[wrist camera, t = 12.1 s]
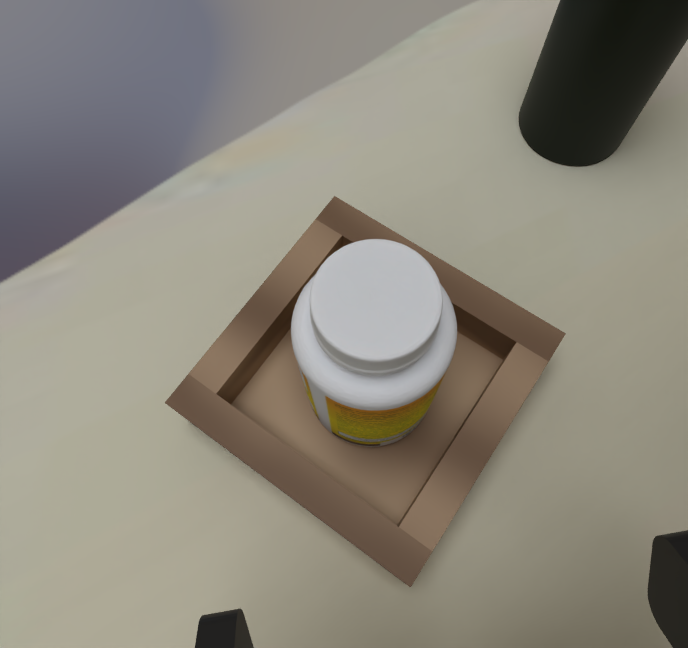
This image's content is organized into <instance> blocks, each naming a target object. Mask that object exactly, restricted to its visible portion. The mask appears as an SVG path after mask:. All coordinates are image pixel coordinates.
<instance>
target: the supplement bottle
mask: <svg viewBox="0 0 688 648" xmlns="http://www.w3.org/2000/svg"><path fill="white" fill-rule="evenodd" d="M291 339H292V346H293V350H294V354H295V358H296V361H297V364H298V367H299V370H300V373H301V376H302V380H303V383H304V386H305V389H306V392H307V395H308V398H309V401H310V404H311V406H312V408H313V411H314V413H315V414H316V416H317V418H318V419H319V421H320V422H321V423H322V425H323V426H324V427H325V428H326V429H327V430H328V431H329V432H331V433H332V434H333V435H335V436H336V437H338V438H340V439H341V440H343V441H346V442H348V443H351V444H354V445H359V446H366V447H377V446H383V445H387V444H391V443H394V442H396V441H398V440H400V439H402V438H404V437H405V436H407V435H408V434H409V433H411V432H412V431H413V430H414V429H415V428H416V427H417V426H418V425H419V423H420V422H421V421H422V419H423V418H424V416H425V415H426V413H427V411H428V409H429V407H430V405H431V403H432V401H433V398H434V396H435V394H436V392H437V390H438V388H439V386H440V384H441V382H442V380H443V378H444V375H445V373H446V371H447V369H448V367H449V365H450V362H451V360H452V357H453V354H454V350H455V346H456V340H457V321H456V316H455V312H454V308H453V305H452V303H451V300H450V298H449V296H448V294H447V293H446V291H445V289H444V288H443V287H442V285H441V284H440V282H439V279H438V277H437V275H436V273H435V271H434V270H433V268H432V267H431V265H430V264H429V263H428V262H427V261H426V260H425V259H424V258H423V257H422V256H421V255H420V254H419V253H417V252H416V251H415V250H413V249H411V248H410V247H408V246H406V245H403V244H401V243H398V242H395V241H390V240H385V239H367V240H361V241H357V242H354V243H351V244H348V245H346V246H344V247H342V248H340V249H339V250H337V251H336V252H334V253H333V254H332V255H331V256H329V257H328V258H327V259H326V260H325V261H324V263H323V264H322V265H321V267H320V268H319V269H318V271H317V273H316V274H315V275H314V276H313V277H312V278H311V280H310V281H309V282H308V283H307V284H306V286H305V287H304V288H303V290H302V292H301V293H300V295H299V298H298V300H297V302H296V305H295V308H294V311H293V316H292V322H291Z"/></svg>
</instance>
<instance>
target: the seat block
mask: <svg viewBox="0 0 688 648" xmlns="http://www.w3.org/2000/svg"><path fill="white" fill-rule="evenodd" d="M367 239H385V240H390V241H395V242H398V243H401V244H403V245H406V246H408V247H410V248H411V249H413V250H415V251H416V252H417V253H419V254H420V255H421V256H422V257H423V258H424V259H425V260H426V261H427V262H428V263H429V264H430V265H431V267H432V268H433V270H434V271H435V273H436V275H437V277H438V279H439V282H440V284H441V285H442V287H443V288H444V289H445V291H446V293H447V294H448V296H449V298H450V300H451V303H452V305H453V308H454V312H455V316H456V321H457V340H456V346H455V350H454V354H453V357H452V360H451V362H450V365H449V367H448V369H447V371H446V373H445V375H444V378H443V380H442V382H441V384H440V386H439V388H438V390H437V392H436V394H435V396H434V398H433V401H432V403H431V405H430V407H429V409H428V411H427V413H426V415H425V416H424V418H423V419H422V421H421V422H420V423H419V425H418V426H417V427H416V428H415V429H414V430H413V431H412V432H411V433H409V434H408V435H407V436H405V437H404V438H402V439H400V440H398V441H396V442H394V443H391V444H387V445H383V446H377V447H366V446H359V445H354V444H351V443H348V442H346V441H343V440H341V439H340V438H338V437H336V436H335V435H333V434H332V433H331V432H329V431H328V430H327V429H326V428H325V427H324V426H323V425H322V423H321V422H320V421H319V419H318V418H317V416H316V414H315V413H314V411H313V408H312V406H311V404H310V401H309V398H308V395H307V392H306V389H305V386H304V383H303V380H302V376H301V373H300V370H299V367H298V364H297V361H296V358H295V354H294V350H293V346H292V339H291V322H292V316H293V311H294V308H295V305H296V302H297V300H298V298H299V295H300V293H301V292H302V290H303V288H304V287H305V286H306V284H307V283H308V282H309V281H310V280H311V278H312V277H313V276H314V275H315V274H316V273H317V271H318V269H319V268H320V267H321V265H322V264H323V263H324V261H325V260H326V259H327V258H328V257H329V256H331V255H332V254H333V253H334V252H336V251H337V250H339V249H340V248H342V247H344V246H346V245H348V244H351V243H354V242H357V241H361V240H367ZM564 336H565V333H564V332H562V331H560V330H559V329H557V328H555V327H554V326H552V325H550V324H549V323H547V322H545V321H544V320H542V319H540V318H539V317H537V316H535V315H534V314H532V313H530V312H528V311H527V310H525V309H523V308H522V307H520V306H518V305H517V304H515V303H513V302H512V301H510V300H508V299H507V298H505V297H503V296H502V295H500V294H498V293H497V292H495V291H493V290H491V289H490V288H488V287H486V286H485V285H483V284H481V283H480V282H478V281H476V280H475V279H473V278H471V277H470V276H468V275H466V274H465V273H463V272H461V271H460V270H458V269H456V268H455V267H453V266H451V265H449V264H448V263H446V262H444V261H443V260H441V259H439V258H438V257H436V256H434V255H433V254H431V253H429V252H428V251H426V250H424V249H423V248H421V247H419V246H418V245H416V244H414V243H412V242H411V241H409V240H407V239H406V238H404V237H402V236H401V235H399V234H397V233H396V232H394V231H392V230H391V229H389V228H387V227H386V226H384V225H382V224H381V223H379V222H377V221H376V220H374V219H372V218H370V217H369V216H367V215H365V214H364V213H362V212H360V211H359V210H357V209H355V208H354V207H352V206H350V205H349V204H347V203H345V202H344V201H342V200H340V199H339V198H337V197H335V196H334V197H333V199H332V200H331V201H330V202H329V204H328V205H327V206H326V207H325V208H324V210H323V211H322V212H321V213H320V214H319V216H318V217H317V218H316V219H315V221H314V222H313V223H312V224H311V225H310V227H309V228H308V229H307V230H306V232H305V233H304V234H303V235H302V236H301V238H300V239H299V240H298V241H297V242H296V244H295V245H294V246H293V247H292V249H291V250H290V251H289V252H288V253H287V255H286V256H285V257H284V258H283V259H282V261H281V262H280V263H279V264H278V266H277V267H276V268H275V269H274V270H273V272H272V273H271V274H270V275H269V277H268V278H267V279H266V280H265V281H264V283H263V284H262V285H261V286H260V287H259V289H258V290H257V291H256V292H255V294H254V295H253V296H252V297H251V298H250V300H249V301H248V302H247V303H246V305H245V306H244V307H243V308H242V309H241V311H240V312H239V313H238V314H237V315H236V317H235V318H234V319H233V320H232V322H231V323H230V324H229V325H228V326H227V328H226V329H225V330H224V331H223V333H222V334H221V335H220V336H219V337H218V339H217V340H216V341H215V342H214V343H213V345H212V346H211V347H210V348H209V350H208V351H207V352H206V353H205V354H204V356H203V357H202V358H201V359H200V361H199V362H198V363H197V364H196V365H195V367H194V368H193V369H192V370H191V371H190V373H189V374H188V375H187V376H186V378H185V379H184V380H183V381H182V382H181V384H180V385H179V386H178V387H177V389H176V390H175V391H174V392H173V393H172V395H171V396H170V397H169V398H168V399H167V401H166V402H165V403H166V404H167V405H168V406H170V407H171V408H172V409H174V410H175V411H176V412H178V413H179V414H180V415H182V416H183V417H184V418H186V419H187V420H188V421H190V422H191V423H192V424H194V425H195V426H196V427H198V428H199V429H200V430H202V431H203V432H204V433H206V434H207V435H208V436H210V437H211V438H212V439H214V440H215V441H216V442H218V443H219V444H220V445H222V446H223V447H224V448H226V449H227V450H228V451H230V452H231V453H232V454H234V455H235V456H236V457H238V458H239V459H240V460H242V461H243V462H244V463H246V464H247V465H248V466H250V467H251V468H252V469H254V470H255V471H256V472H258V473H259V474H260V475H262V476H263V477H264V478H266V479H267V480H268V481H270V482H271V483H272V484H274V485H275V486H276V487H278V488H279V489H280V490H282V491H283V492H284V493H286V494H287V495H288V496H290V497H291V498H292V499H294V500H295V501H296V502H298V503H299V504H300V505H302V506H303V507H304V508H306V509H307V510H308V511H310V512H311V513H312V514H313V515H315V516H316V517H317V518H319V519H320V520H321V521H323V522H324V523H325V524H327V525H328V526H329V527H331V528H332V529H333V530H335V531H336V532H337V533H339V534H340V535H341V536H343V537H344V538H345V539H347V540H348V541H349V542H351V543H352V544H353V545H355V546H356V547H357V548H359V549H360V550H361V551H363V552H364V553H365V554H367V555H368V556H369V557H371V558H372V559H373V560H375V561H376V562H377V563H379V564H380V565H381V566H383V567H384V568H385V569H387V570H388V571H389V572H391V573H392V574H393V575H395V576H396V577H397V578H399V579H400V580H401V581H403V582H404V583H405V584H407V585H408V586H409V587H411V586H412V584H413V582H414V581H415V579H416V578H417V576H418V574H419V573H420V571H421V569H422V568H423V566H424V564H425V563H426V561H427V560H428V558H429V556H430V555H431V553H432V551H433V550H434V548H435V546H436V545H437V543H438V542H439V540H440V538H441V537H442V535H443V533H444V532H445V530H446V529H447V527H448V525H449V524H450V522H451V520H452V519H453V517H454V515H455V514H456V512H457V511H458V509H459V507H460V506H461V504H462V502H463V501H464V499H465V497H466V496H467V494H468V493H469V491H470V489H471V488H472V486H473V484H474V483H475V481H476V479H477V478H478V476H479V475H480V473H481V471H482V470H483V468H484V466H485V465H486V463H487V461H488V460H489V458H490V457H491V455H492V453H493V452H494V450H495V448H496V447H497V445H498V443H499V442H500V440H501V439H502V437H503V435H504V434H505V432H506V430H507V429H508V427H509V426H510V424H511V422H512V421H513V419H514V417H515V416H516V414H517V412H518V411H519V409H520V408H521V406H522V404H523V403H524V401H525V399H526V398H527V396H528V394H529V393H530V391H531V390H532V388H533V386H534V385H535V383H536V381H537V380H538V378H539V376H540V375H541V373H542V372H543V370H544V368H545V367H546V365H547V363H548V362H549V360H550V358H551V357H552V355H553V354H554V352H555V350H556V349H557V347H558V345H559V344H560V342H561V341H562V339H563V337H564Z"/></svg>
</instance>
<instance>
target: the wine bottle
mask: <svg viewBox="0 0 688 648" xmlns="http://www.w3.org/2000/svg"><path fill="white" fill-rule="evenodd" d="M687 39H688V0H560V2H559V5H558V8H557V10H556V13H555V16H554V19H553V21H552V24H551V27H550V30H549V32H548V35H547V38H546V41H545V43H544V46H543V49H542V51H541V54H540V57H539V60H538V62H537V65H536V68H535V71H534V73H533V76H532V79H531V81H530V84H529V87H528V90H527V92H526V95H525V98H524V101H523V103H522V106H521V109H520V113H519V124H520V129H521V132H522V134H523V136H524V138H525V140H526V141H527V142H528V144H529V145H530V146H531V147H532V148H533V149H534V150H535V151H536V152H538V153H539V154H541V155H542V156H544V157H546V158H547V159H550V160H552V161H554V162H557V163H561V164H565V165H574V166H581V165H589V164H593V163H596V162H599V161H601V160H603V159H605V158H607V157H608V156H610V155H611V154H612V153H613V152H614V151H615V150H616V149H617V148H618V146H619V145H620V143H621V142H622V140H623V139H624V137H625V136H626V134H627V133H628V131H629V129H630V128H631V126H632V125H633V123H634V122H635V120H636V119H637V117H638V115H639V114H640V112H641V111H642V109H643V108H644V106H645V105H646V103H647V101H648V100H649V98H650V97H651V95H652V94H653V92H654V91H655V89H656V88H657V86H658V84H659V83H660V81H661V80H662V78H663V77H664V75H665V74H666V72H667V70H668V69H669V67H670V66H671V64H672V63H673V61H674V60H675V58H676V56H677V55H678V53H679V52H680V50H681V49H682V47H683V46H684V44H685V43H686V41H687Z"/></svg>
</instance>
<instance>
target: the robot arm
mask: <svg viewBox="0 0 688 648" xmlns="http://www.w3.org/2000/svg"><path fill="white" fill-rule="evenodd" d="M648 600H649V604H650V608H651V611H652V613H653V616H654V618H655V620H656V622H657V624H658V625H659V627H660V629H661V630H662V632H663V633H664V635H665V636H666V638H667V639H668V641H669V642H670V644H671V645H672V647H673V648H688V530H687V531H682V532H676V533H670V534H665V535H659V536H656V537H655V538H654V540H653V545H652V555H651V564H650V573H649V583H648ZM195 648H254V647H253V644H252V641H251V637H250V634H249V630H248V627H247V623H246V620H245V617H244V614H243V611H242V610H241V609H236V610H230V611H224V612H219V613H213V614H208V615H203V616H201V618H200V621H199V625H198V631H197V638H196V644H195Z"/></svg>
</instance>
